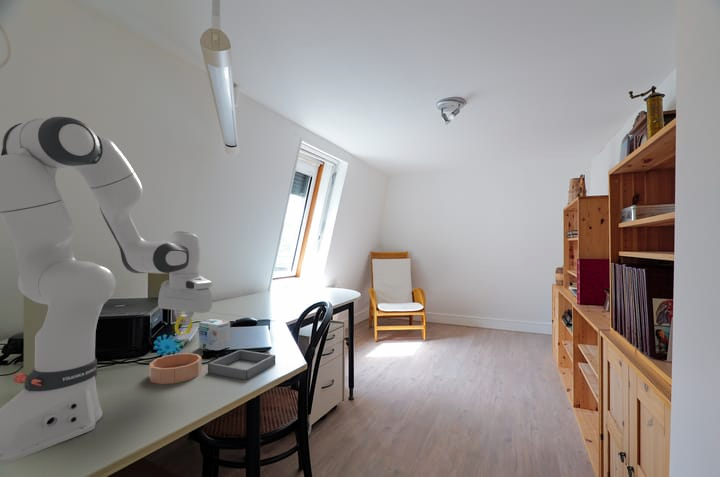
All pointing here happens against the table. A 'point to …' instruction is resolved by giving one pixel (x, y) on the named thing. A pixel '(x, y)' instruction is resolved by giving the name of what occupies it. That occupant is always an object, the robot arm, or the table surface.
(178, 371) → the bowl
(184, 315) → the watch
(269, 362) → the parts tray
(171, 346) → the gear
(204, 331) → the light bulb box
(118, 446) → the table surface
